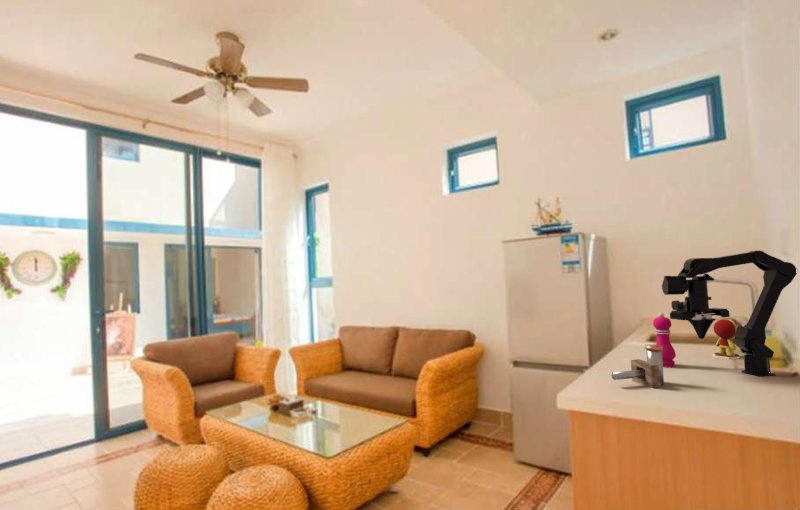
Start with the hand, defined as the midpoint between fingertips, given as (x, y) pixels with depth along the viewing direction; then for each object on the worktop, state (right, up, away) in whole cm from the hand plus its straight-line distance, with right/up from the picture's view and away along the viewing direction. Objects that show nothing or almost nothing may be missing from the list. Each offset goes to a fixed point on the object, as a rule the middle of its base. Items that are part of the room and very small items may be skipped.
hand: (701, 338), depth 146 cm
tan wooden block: (-25, -13, -9) cm, 30 cm away
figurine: (+26, -12, +21) cm, 36 cm away
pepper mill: (-4, -13, +13) cm, 19 cm away
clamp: (-27, -13, -10) cm, 32 cm away
